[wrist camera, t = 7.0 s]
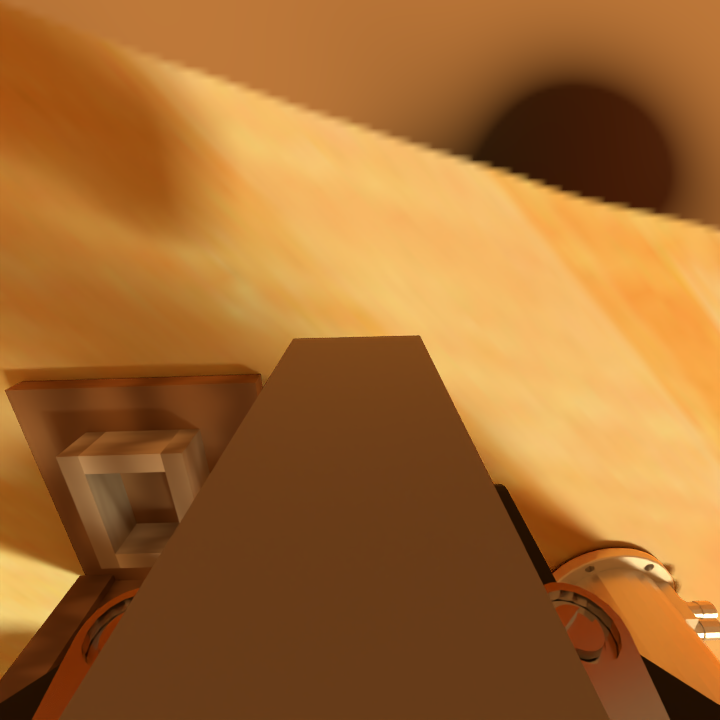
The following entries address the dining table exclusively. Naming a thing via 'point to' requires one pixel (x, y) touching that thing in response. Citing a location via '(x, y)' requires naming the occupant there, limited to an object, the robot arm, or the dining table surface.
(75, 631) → the wooden display stand
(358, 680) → the plain rectangular block
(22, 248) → the dining table surface
